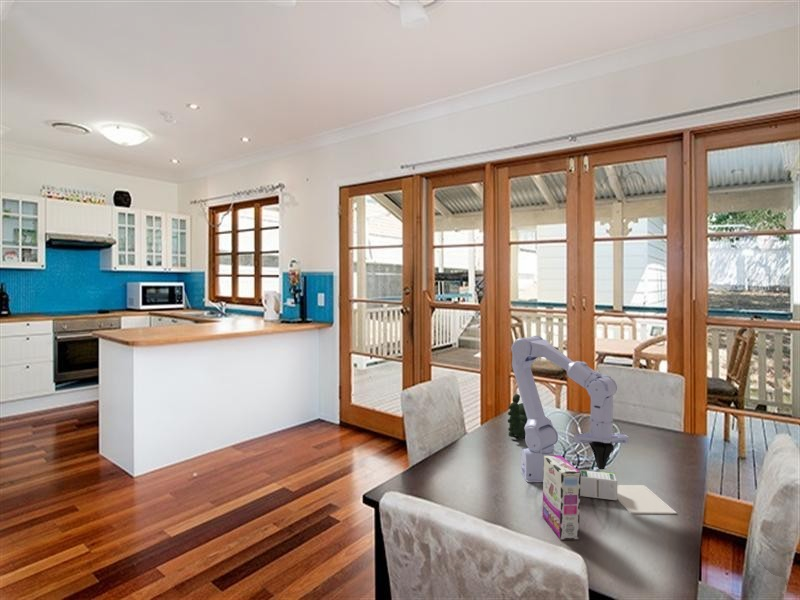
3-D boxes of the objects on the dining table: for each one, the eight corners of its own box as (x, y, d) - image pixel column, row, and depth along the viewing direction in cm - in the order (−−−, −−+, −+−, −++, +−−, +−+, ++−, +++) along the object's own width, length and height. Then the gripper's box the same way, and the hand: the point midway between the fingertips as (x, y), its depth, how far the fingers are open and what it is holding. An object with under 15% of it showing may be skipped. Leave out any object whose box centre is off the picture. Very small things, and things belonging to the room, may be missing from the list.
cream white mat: (630, 513, 119) (630, 512, 119) (604, 486, 135) (604, 484, 135) (676, 514, 119) (676, 512, 119) (644, 486, 135) (644, 485, 135)
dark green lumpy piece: (526, 449, 169) (539, 424, 191) (525, 400, 167) (539, 381, 189) (501, 444, 174) (517, 421, 196) (500, 397, 172) (516, 379, 193)
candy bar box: (580, 540, 107) (582, 472, 106) (560, 541, 106) (561, 472, 106) (560, 515, 118) (561, 454, 117) (541, 516, 118) (542, 454, 117)
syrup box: (617, 480, 125) (561, 473, 130) (617, 501, 125) (561, 493, 130) (615, 472, 130) (561, 466, 135) (615, 492, 131) (561, 485, 135)
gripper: (581, 424, 122) (580, 473, 123) (634, 424, 122) (633, 474, 123) (571, 416, 129) (570, 463, 130) (622, 416, 129) (621, 463, 130)
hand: (600, 467), depth 127 cm, fingers closed
